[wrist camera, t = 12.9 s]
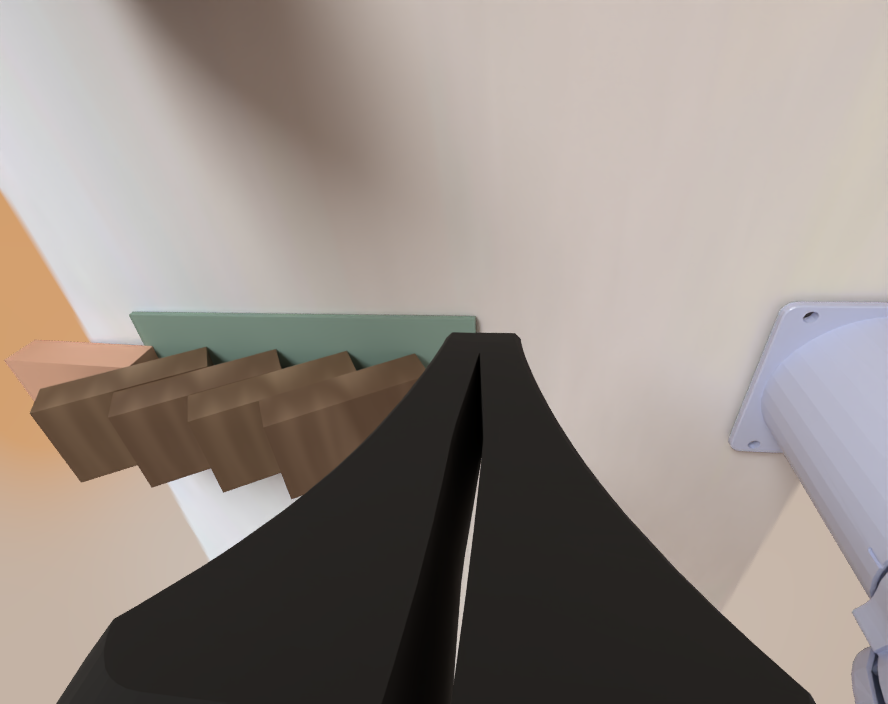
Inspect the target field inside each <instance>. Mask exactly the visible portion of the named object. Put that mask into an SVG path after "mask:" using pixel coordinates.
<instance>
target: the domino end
mask: <svg viewBox="0 0 888 704" xmlns="http://www.w3.org/2000/svg"><path fill="white" fill-rule="evenodd" d="M156 359H159V358H158V356H157V354H156V352H155V350H154V348H153V346H140V345H122V344H103V343H85V342H67V341H66V342H65V341H48V340H34V341H32V342H31V343H29V344H28V345H26V346H25V347H23V348H22V349H20V350H19V351H17V352H16V353H14V354H13V355H11V356H10V357H8V358H7V359H5V360H4V361H5V362H6V364H7V365H8V366H9V368H10V369H11V370H12V372H13V373H14V374H15V376H16V377H17V379H18V380H19V381H20V383H21V384H22V385H23V387H24V388H25V389H26V391H27V392H28V394H29V395H30V396H31V398H32V399H33V400H34V402H35V400H36V397H37V395H38V392H39V390H40V389H42V388H46V387H49V386H53V385H57V384H61V383H65V382H69V381H73V380H77V379H81V378H85V377H89V376H93V375H97V374H101V373H105V372H108V371H112V370H116V369H120V368H124V367H128V366H132V365H136V364H140V363H144V362H148V361H152V360H156Z"/></svg>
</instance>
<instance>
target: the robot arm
mask: <svg viewBox="0 0 888 704" xmlns="http://www.w3.org/2000/svg"><path fill="white" fill-rule="evenodd" d="M809 312H813V313H812V315H811V316H809V317H806V318H803V317H804V316H805V315H806V314H807V313H809ZM752 441H754V442H752ZM728 442H729V444H730V446H731V447H732V449H734V450H737V451H753V452H774V453H784V455H785V457H786V458H787V460H788V462H789V463H790V465H791V467H792V469H793V470H794V472H795V474H796V475H797V477H798V479H799V480H800V482H801V484H802V485H803V487H804V489H805V490H806V492H807V494H808V495H809V497H810V499H811V501H812V502H813V504H814V506H815V507H816V509H817V511H818V512H819V514H820V516H821V517H822V519H823V521H824V522H825V524H826V526H827V527H828V529H829V531H830V533H831V534H832V536H833V538H834V539H835V541H836V542H837V544H838V546H839V548H840V549H841V551H842V553H843V554H844V556H845V558H846V559H847V561H848V563H849V565H850V566H851V568H852V570H853V571H854V573H855V574H856V576H857V578H858V580H859V581H860V583H861V585H862V586H863V588H864V590H865V591H866V593H867V595H868V597H869V598H870V600H869V601H867V602H866V603H865V604H863V605H861V606H860V607H858V608H856V609H854V610H853V611H852V613H853V615H854V617H855V619H856V621H857V623H858V625H859V626H860V628H861V630H862V632H863V633H864V635H865V637H866V639H867V641H868V642H869V644H870V647H867V648H865V649H863V650H862V651H861V652H859V653H858V654H857V655H856V657H855V659H854V661H853V666H852V673H851V675H852V686H853V693H854V697H855V704H888V302H791V303H789V304H787V305H785V306H784V307H783V308H781V310H780V311H779V313H778V316H777V318H776V321H775V323H774V326H773V328H772V331H771V333H770V336H769V338H768V341H767V343H766V346H765V348H764V351H763V353H762V356H761V358H760V361H759V363H758V366H757V368H756V371H755V373H754V376H753V378H752V381H751V383H750V386H749V389H748V391H747V394H746V396H745V399H744V401H743V404H742V406H741V409H740V411H739V414H738V416H737V419H736V421H735V424H734V426H733V429H732V431H731V434H730V436H729V439H728ZM481 458H482V459H481ZM480 464H481V468H480ZM479 470H480V478H479V488H478V497H477V506H476V515H475V524H474V533H473V541H472V549H471V557H470V565H469V573H468V581H467V590H466V597H465V605H464V612H463V619H462V627H461V634H460V641H459V649H458V656H457V664H456V671H455V678H454V670H455V657H456V643H457V630H458V617H459V605H460V592H461V580H462V573H463V565H464V557H465V552H466V546H467V540H468V534H469V528H470V522H471V517H472V511H473V505H474V499H475V493H476V487H477V482H478V476H479ZM453 684H454V685H453ZM57 704H816V703H815V701H814V699H813V698H812V696H811V695H810V693H809V692H807V691H806V690H805V689H804V688H803V687H802V686H801V685H800V684H798V683H797V682H796V681H795V680H794V679H792V677H790V676H789V675H788V674H787V673H786V672H785V671H784V670H783V669H781V668H780V667H779V666H778V665H777V664H776V663H775V662H774V661H772V660H771V659H770V658H769V657H768V656H767V655H766V654H765V653H763V652H762V651H761V650H760V649H759V648H758V647H757V646H756V645H754V644H753V643H752V642H751V641H750V640H749V639H748V638H747V637H746V636H745V635H744V634H743V633H742V632H740V631H739V630H738V629H737V628H736V627H735V626H734V625H733V624H732V623H731V622H730V621H729V620H728V619H727V618H725V617H724V616H723V615H722V614H721V613H720V612H719V611H718V610H717V609H716V608H715V607H714V606H713V605H712V604H711V603H710V602H709V601H708V600H707V599H706V598H705V597H704V596H703V595H702V594H701V593H700V592H699V591H698V590H697V589H696V588H695V587H694V586H693V585H692V584H691V583H690V582H689V581H688V580H687V579H686V578H684V577H683V576H682V575H681V574H680V573H679V572H678V571H677V570H676V569H675V567H674V566H673V565H672V564H671V563H670V562H669V561H668V560H667V559H666V558H665V557H664V556H663V554H662V553H661V552H660V551H659V550H658V549H657V548H656V547H655V546H654V545H653V544H652V542H651V541H650V540H649V539H648V538H647V537H646V536H645V535H644V534H643V533H642V532H641V531H640V529H639V528H638V527H637V526H636V525H635V524H634V523H633V522H632V521H631V520H630V519H629V517H628V516H627V515H626V514H625V513H624V512H623V511H622V509H621V508H620V507H619V506H618V504H617V503H616V502H615V501H614V500H613V498H612V497H611V496H610V495H609V493H608V492H607V491H606V490H605V488H604V487H603V486H602V485H601V483H600V482H599V481H598V479H597V478H596V477H595V476H594V474H593V473H592V472H591V470H590V469H589V468H588V466H587V465H586V464H585V462H584V461H583V459H582V458H581V457H580V455H579V454H578V452H577V451H576V449H575V448H574V446H573V445H572V443H571V442H570V440H569V439H568V437H567V436H566V434H565V432H564V431H563V429H562V428H561V426H560V425H559V423H558V421H557V420H556V418H555V416H554V414H553V413H552V411H551V409H550V408H549V406H548V404H547V402H546V400H545V398H544V396H543V394H542V393H541V391H540V389H539V387H538V385H537V383H536V381H535V379H534V377H533V374H532V372H531V370H530V367H529V365H528V363H527V360H526V357H525V354H524V351H523V348H522V344H521V339H520V338H519V337H518V336H517V335H516V334H515V333H465V332H452V333H451V334H450V335H449V336H448V337H447V338H446V339H445V341H444V343H443V344H442V346H441V347H440V349H439V351H438V352H437V354H436V355H435V356H434V358H433V359H432V361H431V362H430V364H429V365H428V366H427V368H426V369H425V371H424V372H423V373H422V375H421V376H420V377H419V378H418V380H417V381H416V382H415V384H414V385H413V386H412V387H411V389H410V390H409V391H408V392H407V394H406V395H405V396H404V397H403V399H402V400H401V401H400V402H399V403H398V404H397V406H396V407H395V408H394V409H393V410H392V411H391V412H390V413H389V415H388V416H387V417H386V418H385V419H384V420H383V421H382V422H381V424H380V425H379V426H378V427H377V428H376V429H375V430H374V431H373V432H372V433H371V434H370V435H369V436H368V437H367V438H366V439H365V440H364V441H363V442H362V443H361V444H360V445H359V446H358V447H357V448H356V449H355V450H354V451H353V452H352V453H351V454H350V455H349V456H348V457H347V458H346V459H344V460H343V461H342V462H341V463H340V464H339V465H338V466H337V467H336V468H335V469H334V470H332V471H331V472H330V473H329V474H328V475H326V476H325V477H324V478H323V479H322V480H321V481H319V482H318V483H317V484H316V485H315V486H313V487H312V488H311V489H310V490H309V491H307V492H306V493H305V494H304V495H303V496H301V497H300V498H299V499H298V500H296V501H295V502H294V503H293V504H291V505H290V506H289V507H287V508H286V509H285V510H283V511H282V512H281V513H279V514H278V515H277V516H275V517H274V518H272V519H271V520H270V521H268V522H267V523H265V524H264V525H263V526H261V527H260V528H258V529H257V530H256V531H254V532H253V533H251V534H250V535H249V536H247V537H246V538H244V539H243V540H241V541H240V542H239V543H237V544H236V545H234V546H233V547H231V548H230V549H228V550H227V551H225V552H224V553H222V554H221V555H219V556H218V557H216V558H215V559H213V560H212V561H210V562H208V563H207V564H205V565H204V566H202V567H201V568H199V569H197V570H196V571H194V572H192V573H191V574H189V575H187V576H186V577H184V578H182V579H181V580H179V581H177V582H176V583H174V584H172V585H171V586H169V587H168V588H166V589H164V590H162V591H161V592H159V593H158V594H156V595H154V596H153V597H151V598H149V599H147V600H146V601H144V602H143V603H141V604H139V605H138V606H136V607H134V608H132V609H131V610H129V611H127V612H126V613H124V614H122V615H120V616H119V617H117V618H115V619H114V620H113V621H112V622H111V624H110V625H109V626H108V628H107V629H106V631H105V632H104V633H103V635H102V636H101V638H100V639H99V641H98V642H97V643H96V645H95V646H94V647H93V649H92V650H91V652H90V653H89V654H88V656H87V657H86V659H85V660H84V662H83V663H82V665H81V666H80V668H79V670H78V671H77V673H76V674H75V676H74V677H73V679H72V680H71V682H70V683H69V685H68V686H67V688H66V690H65V691H64V693H63V694H62V696H61V697H60V699H59V700H58V702H57Z"/></svg>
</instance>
